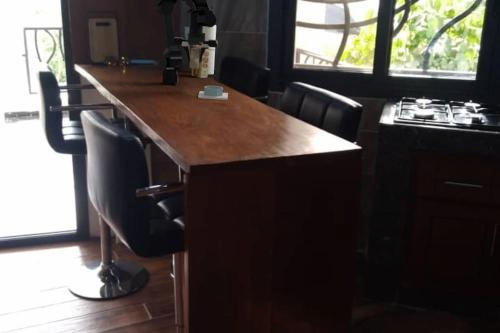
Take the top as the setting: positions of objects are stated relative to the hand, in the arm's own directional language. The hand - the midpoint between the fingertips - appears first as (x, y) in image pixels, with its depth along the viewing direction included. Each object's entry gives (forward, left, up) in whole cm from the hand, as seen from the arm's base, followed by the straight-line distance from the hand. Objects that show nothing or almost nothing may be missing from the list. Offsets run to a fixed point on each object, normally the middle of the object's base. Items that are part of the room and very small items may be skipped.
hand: (194, 63), depth 236 cm
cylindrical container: (+3, +57, -12) cm, 59 cm away
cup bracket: (+9, -9, -12) cm, 18 cm away
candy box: (0, +43, -12) cm, 45 cm away
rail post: (0, 0, -2) cm, 2 cm away
